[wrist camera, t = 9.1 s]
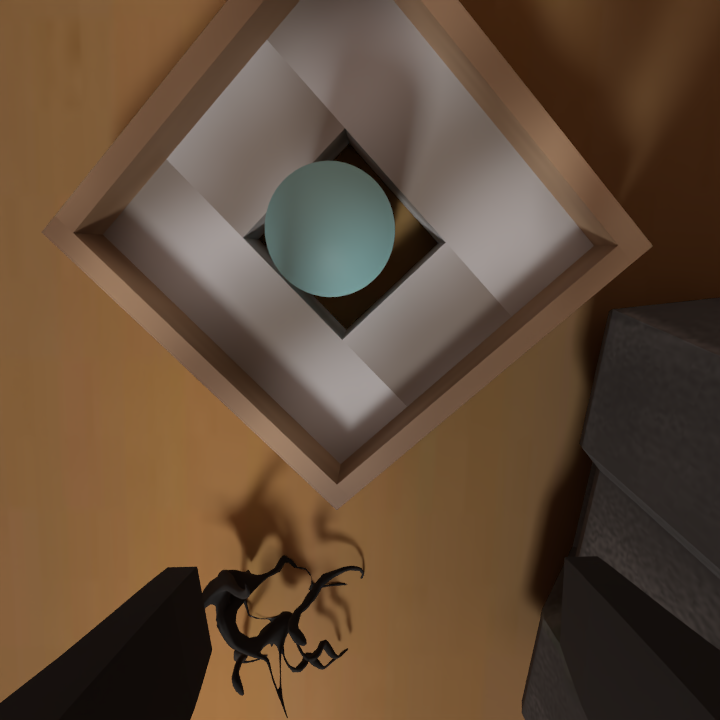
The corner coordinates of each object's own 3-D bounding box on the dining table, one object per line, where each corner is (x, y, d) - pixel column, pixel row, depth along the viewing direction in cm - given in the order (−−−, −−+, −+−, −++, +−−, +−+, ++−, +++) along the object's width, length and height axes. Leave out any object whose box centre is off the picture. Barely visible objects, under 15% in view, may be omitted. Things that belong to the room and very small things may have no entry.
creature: (395, 574, 22) (270, 491, 19) (422, 693, 17) (258, 604, 14) (288, 660, 23) (158, 595, 20) (283, 792, 18) (111, 731, 15)
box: (109, 235, 17) (41, 231, 13) (352, -51, 14) (343, -145, 11) (344, 462, 19) (336, 509, 15) (595, 246, 16) (652, 245, 13)
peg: (294, 205, 16) (247, 181, 10) (378, 182, 16) (377, 144, 10) (317, 289, 17) (285, 310, 11) (398, 268, 17) (408, 279, 11)
